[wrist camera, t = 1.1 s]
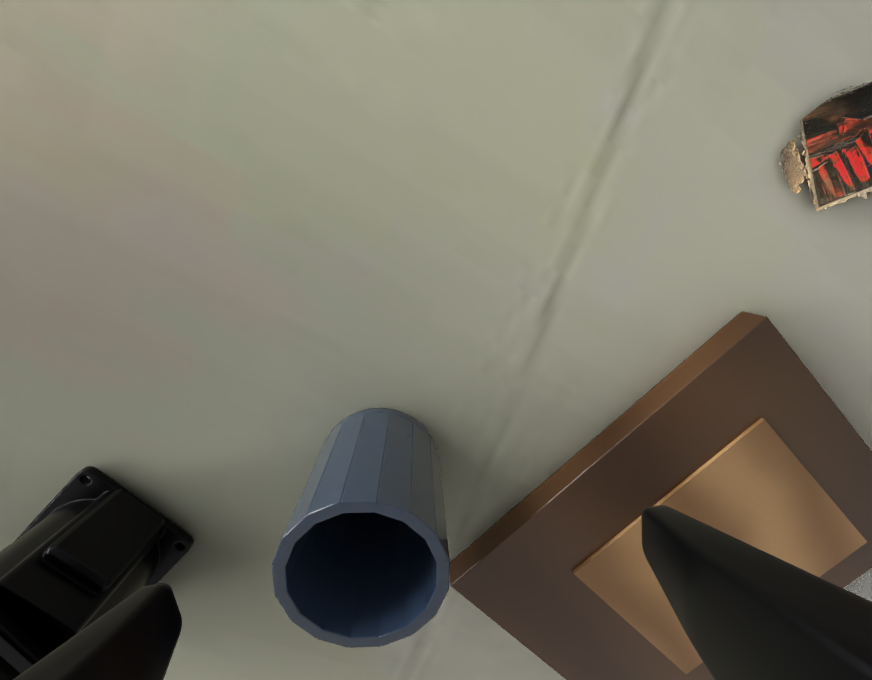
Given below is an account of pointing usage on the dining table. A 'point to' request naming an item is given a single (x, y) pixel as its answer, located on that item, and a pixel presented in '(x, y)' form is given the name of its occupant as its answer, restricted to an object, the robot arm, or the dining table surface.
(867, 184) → the painted stone tile
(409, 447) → the cup
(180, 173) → the dining table surface
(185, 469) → the dining table surface
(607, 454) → the desk board
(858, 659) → the robot arm
